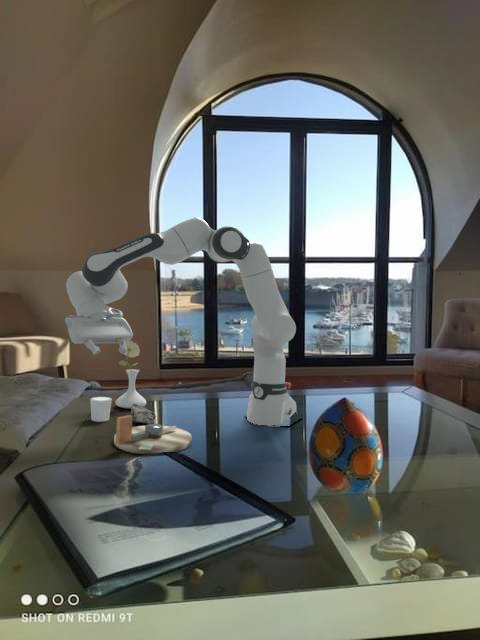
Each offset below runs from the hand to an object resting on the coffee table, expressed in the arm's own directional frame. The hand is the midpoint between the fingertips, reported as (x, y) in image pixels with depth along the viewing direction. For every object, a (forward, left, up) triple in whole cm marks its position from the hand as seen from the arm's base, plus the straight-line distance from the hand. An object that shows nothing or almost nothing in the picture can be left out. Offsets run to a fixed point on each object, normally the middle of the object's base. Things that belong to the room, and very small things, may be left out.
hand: (111, 352), depth 133 cm
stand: (-6, +13, -24) cm, 29 cm away
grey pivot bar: (-4, +13, -23) cm, 27 cm away
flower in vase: (-26, -24, -25) cm, 43 cm away
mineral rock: (-18, -6, -25) cm, 31 cm away
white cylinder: (-8, -16, -25) cm, 30 cm away
